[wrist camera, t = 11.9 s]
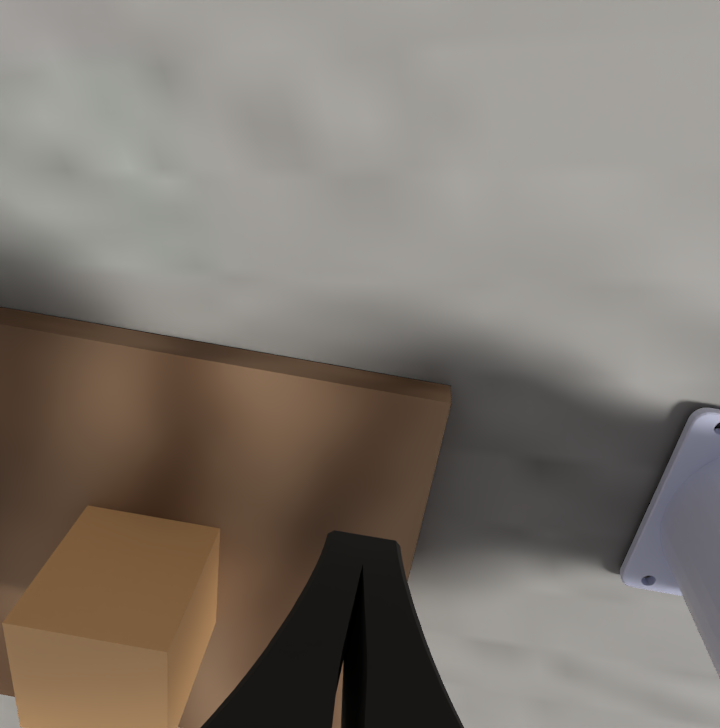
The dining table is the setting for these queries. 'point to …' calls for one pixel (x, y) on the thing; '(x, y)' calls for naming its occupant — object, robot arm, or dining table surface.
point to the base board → (206, 465)
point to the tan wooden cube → (115, 623)
